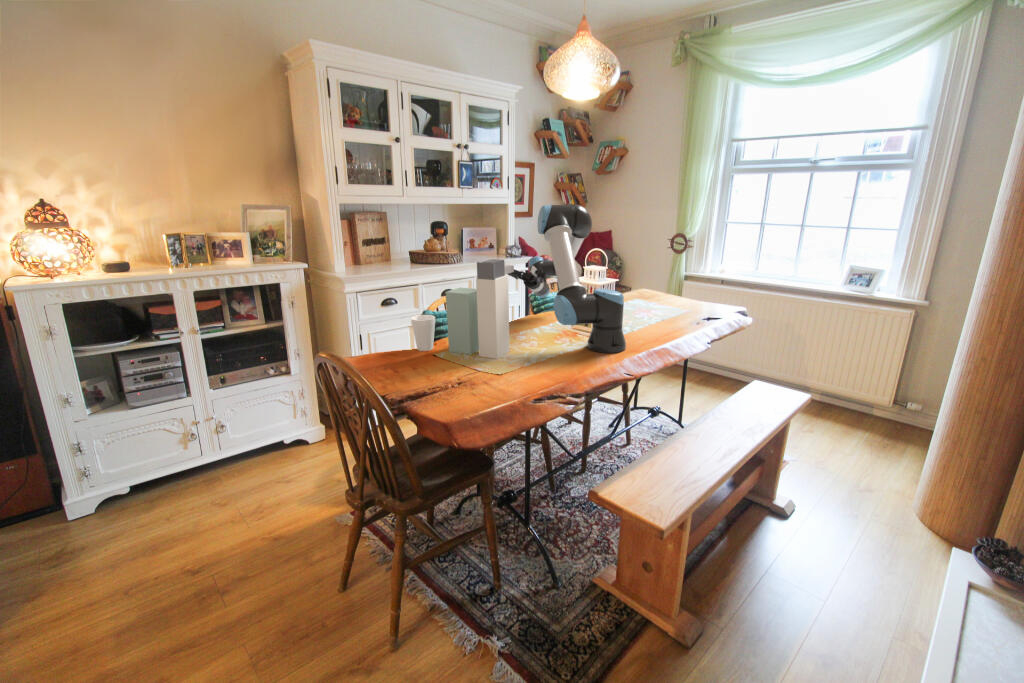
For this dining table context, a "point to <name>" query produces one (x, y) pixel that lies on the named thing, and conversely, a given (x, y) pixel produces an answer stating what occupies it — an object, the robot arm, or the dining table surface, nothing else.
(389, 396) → the dining table surface
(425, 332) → the foam cup
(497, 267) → the charger
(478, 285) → the tower
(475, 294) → the sage green pillar
